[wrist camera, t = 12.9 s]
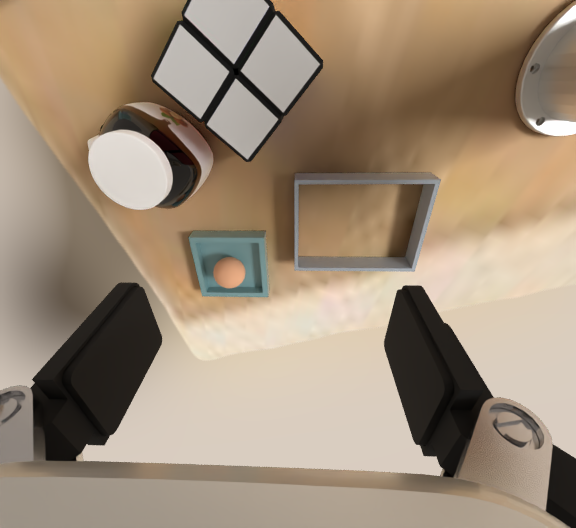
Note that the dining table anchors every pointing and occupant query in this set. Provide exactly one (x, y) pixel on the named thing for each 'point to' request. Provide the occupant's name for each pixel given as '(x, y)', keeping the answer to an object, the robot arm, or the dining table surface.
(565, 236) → the dining table surface
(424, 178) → the grey hollow rectangular frame
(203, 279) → the dish
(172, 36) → the puzzle cube
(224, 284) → the ball
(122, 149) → the spread jar
